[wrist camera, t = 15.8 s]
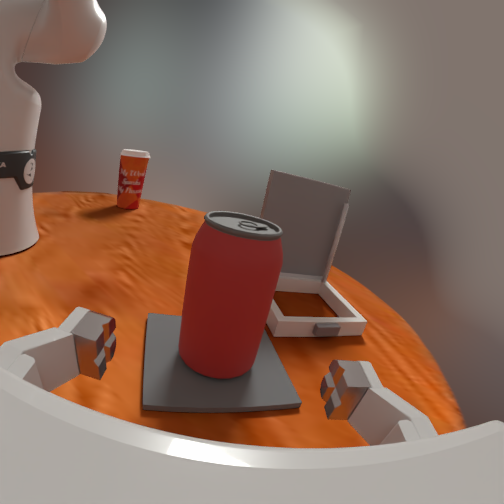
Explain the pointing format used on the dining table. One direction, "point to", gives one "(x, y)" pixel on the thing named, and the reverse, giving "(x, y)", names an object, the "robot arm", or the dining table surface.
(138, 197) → the paper cup
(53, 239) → the dining table surface
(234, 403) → the rubber mat
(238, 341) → the beer can
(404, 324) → the dining table surface
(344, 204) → the case
